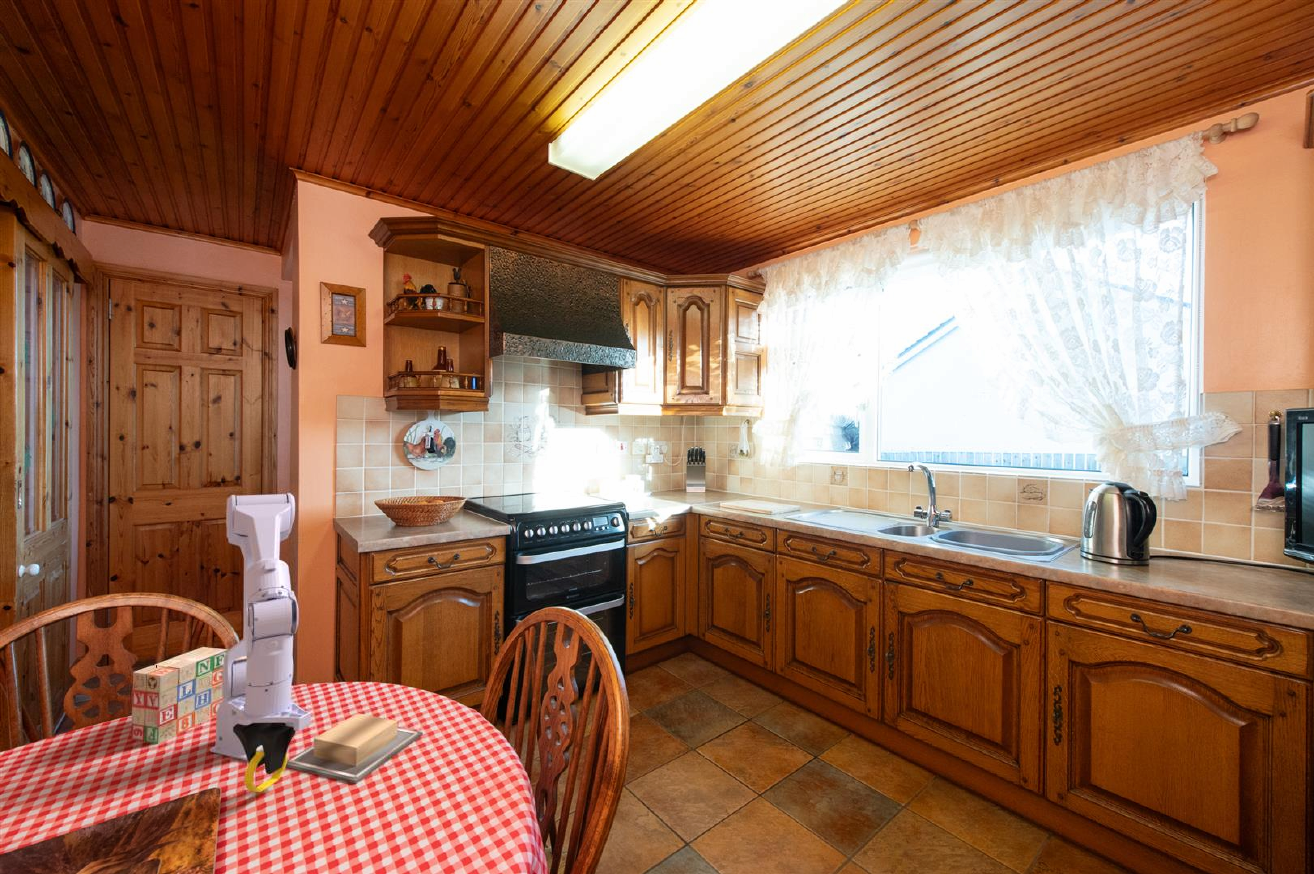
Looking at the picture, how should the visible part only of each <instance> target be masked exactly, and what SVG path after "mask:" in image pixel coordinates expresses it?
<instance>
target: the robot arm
mask: <svg viewBox="0 0 1314 874" xmlns="http://www.w3.org/2000/svg"><path fill="white" fill-rule="evenodd" d="M295 513H296V501H295V497H294V495H293V494H292V493H291V492H287V493H281V494H280V493H278V494H277V493H276V494H253V495H252V494H249V495H248V494H247V495H236V494H231V495H230V496H229V497H228V498H227V499H226V513H225V515H226V520H225V521H226V523H225V524H226V526H225V527H226V538H227V539H228V541H227V542H228V543H229V544H231V545H235V546H238V547H239V548H240V551H241V553H242V556H243V635H242V636H243V637H242V639H241V640H240V641H239V642H237V643H236V644H235V645H234V646H232V647H231V648H229V649H227V650H228V651H227V652H226V655H225V656H224V665H223V670H222V698H224V699H223V701H222V702H221V704H220V705H219V708H218V710H217V716H216V721H215V723H216V724H215V725H216V727H215V745H214V746H213V747H212V746H211V747H210V749H209V752H211V753H215V754H219V755H223V756H226V757H232V758H235V759H239V760H242V761H243V760H244V761H247V763H248V765H249V762H250V761H251V760H252V758H253V757H254V756H255V755H256V749H257V748H258V747H259V746H261V745H262V747H263V751H264V757H263V758H262V759H261V760H260V762H259V763H258V765H257V767H256V769H258V768H259V767H261V766H263V765H264V771H265V773H266V774H267V775H273V773H274V772H275V771H277V770H278V769H280V768H282V766H283V762H284V759H285V756H286V753H287V754H288V749H289V747H290V744H291V742H292V740H293V738H294V736H295V734H296V732H300V731H302V730H304V729H306V728H308V727H309V726H311V719H312V716H311V713H312V712H310V711H307V710H305V709H303V708H302V707H301V706H299V705H298V704H297V703H295V702H294V701H292V682H293V679H294V659H293V658H294V657H293V655H294V654H293V648H294V634H296V633H297V632H298V631H297V630H298V626H299V605H298V601H297V597H296V595H295V591H294V590H292V588H291V587H292V585H291V575H290V569H289V565H288V564H287V563H286V562H285V561H284V560H281V559H280V552H281V551H280V550H281V549H280V548H281V545H280V544H281V542H283V541H284V540H286V539H288V538H289V535H290V533H291V532H292V528H293V525H294V521H295V518H296V517H295V516H296V514H295ZM292 632H293V633H292ZM242 656H247V659H241V660H236V659H237V658H239V657H242ZM235 660H236V661H235Z"/></svg>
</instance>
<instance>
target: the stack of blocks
mask: <svg viewBox="0 0 1314 874" xmlns="http://www.w3.org/2000/svg"><path fill="white" fill-rule="evenodd" d="M228 650H229V649H225V648H217V647H216V648H214V647H205V646H201V647H199V648H197V649H193V650H190V651H188V652H186V653H183V654H180V655H177V656H174V657H171V658H169V659H167V660H164V661H161V662H158V663H156V664H155V663H154V665H149V666H147V667H144V668H141V669H139V670H135V671H133V673H132V690H131V724H130V725H131V726H130V727H131V729H130V731H131V732H130V733H131V735H130V736H131V737H130V740H131V741H136V740H138V741H137V742H142V741H143V742H142V743H150V744H154V745H155V744H156V745H159V744H162V743H164V742H166V741H168V740H169V739H172V738H174V737H176V736H178V735H180V733H181V734H182V732H183V733H185V732H187V731H188V729H189V730H191V729H193V728H195V727H197V726H199V725H201V724H203V723H205V722H207V721H209V720H211V719H213V718H215V717H217V710H218V708H219V705H220V704H221V702H222V701H223V699H224V698H220V697H222V670H223V665H224V656H225V655H226V652H227V651H228ZM241 659H247V656H242V657H239V658H237V659H236V660H241ZM236 660H235V661H236ZM156 665H157V668H156ZM200 723H201V724H200ZM198 724H199V725H198ZM196 725H197V726H196ZM190 728H191V729H190ZM173 736H174V737H173Z"/></svg>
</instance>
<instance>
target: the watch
mask: <svg viewBox="0 0 1314 874" xmlns="http://www.w3.org/2000/svg"><path fill="white" fill-rule="evenodd" d="M263 757H264V751H263V747H262V745H261V746H259V747H258V748H257V749H256V755H255V756H254V757H253V758H252V760H251V761H250V762H249V764H248V765H247V767H246V769H245V771H244V772H245V773H244V778H243V783H244V786H245V789H246V790H247V791H251V792H256V793H261V792H263V791H264V790H266V789H267V788H268V787H271V786H272V785H273V784H275V783H277V782H278V781H279V780H280V779H281V777H282V775H283V774H284V771H285V769H286V767H285V766H286V763H287V760H288V752H287V753H286V756H285V759H284V762H283V766H282V768H280V769H278V770H277V771H275V772H273V773H272V774H271V776H270V778H269V779H267V780H266V781H264V782H263V783H261V784H260V785H258V786H257V787H256V785H255V784H254V773H255V772H256V769H257V768H256V767H257V765H258V763H259V762H260V760H261V759H262V758H263Z"/></svg>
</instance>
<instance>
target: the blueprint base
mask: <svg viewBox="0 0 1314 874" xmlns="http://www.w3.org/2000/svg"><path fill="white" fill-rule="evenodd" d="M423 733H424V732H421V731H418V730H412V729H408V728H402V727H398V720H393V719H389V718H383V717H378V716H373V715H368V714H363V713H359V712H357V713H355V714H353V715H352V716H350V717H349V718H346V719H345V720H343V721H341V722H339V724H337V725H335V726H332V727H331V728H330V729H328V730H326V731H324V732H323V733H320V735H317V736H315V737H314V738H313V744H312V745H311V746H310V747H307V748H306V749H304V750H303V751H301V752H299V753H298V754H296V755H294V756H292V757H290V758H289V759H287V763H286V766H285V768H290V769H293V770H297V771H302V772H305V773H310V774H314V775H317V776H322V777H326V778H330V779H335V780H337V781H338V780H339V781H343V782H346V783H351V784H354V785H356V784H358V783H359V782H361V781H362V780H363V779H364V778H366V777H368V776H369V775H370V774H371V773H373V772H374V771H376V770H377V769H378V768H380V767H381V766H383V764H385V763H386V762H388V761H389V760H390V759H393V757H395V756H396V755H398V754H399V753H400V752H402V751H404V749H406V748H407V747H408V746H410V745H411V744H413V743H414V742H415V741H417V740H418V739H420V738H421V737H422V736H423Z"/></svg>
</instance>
